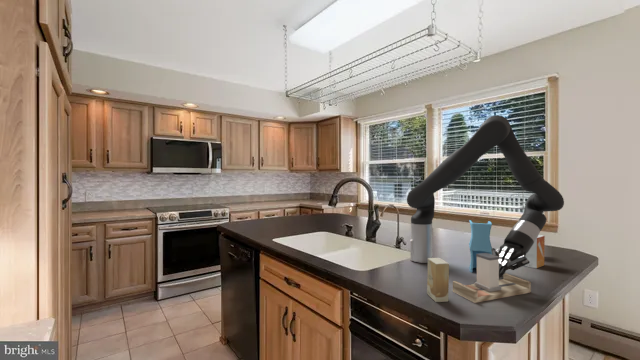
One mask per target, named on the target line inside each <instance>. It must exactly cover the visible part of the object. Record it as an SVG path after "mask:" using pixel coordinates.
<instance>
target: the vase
mask: <svg viewBox="0 0 640 360" xmlns="http://www.w3.org/2000/svg"><path fill="white" fill-rule="evenodd" d="M468 221H469V226H470V232H471V233H470V239H469V243H468V247H469V252H470V262H469V263H470V264H469V267H468V268H469V272H470V273H473V271H474V270H473V269H477V256H476V254H479V253H488V254H492V251H491V249H492V248H493V247H492V243H491V237H490V236H491V230H492V226H493V223H492V222H491V221H490V220H488V221H487V222H486V223H481V222H480V223H479V222H473V221H472V220H470V219H469V220H468Z"/></svg>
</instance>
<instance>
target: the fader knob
mask: <svg viewBox="0 0 640 360" xmlns="http://www.w3.org/2000/svg"><path fill="white" fill-rule="evenodd" d="M476 256H477V268H476V281H474V283H473V284H474V285H475V286H477V287H480V288H482V289H484V290H486V291H489V292H492V291H497V290H501V286H499V280H500V278H499V257H498V256H495V255H492V254H488V253H479V254H476Z"/></svg>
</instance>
